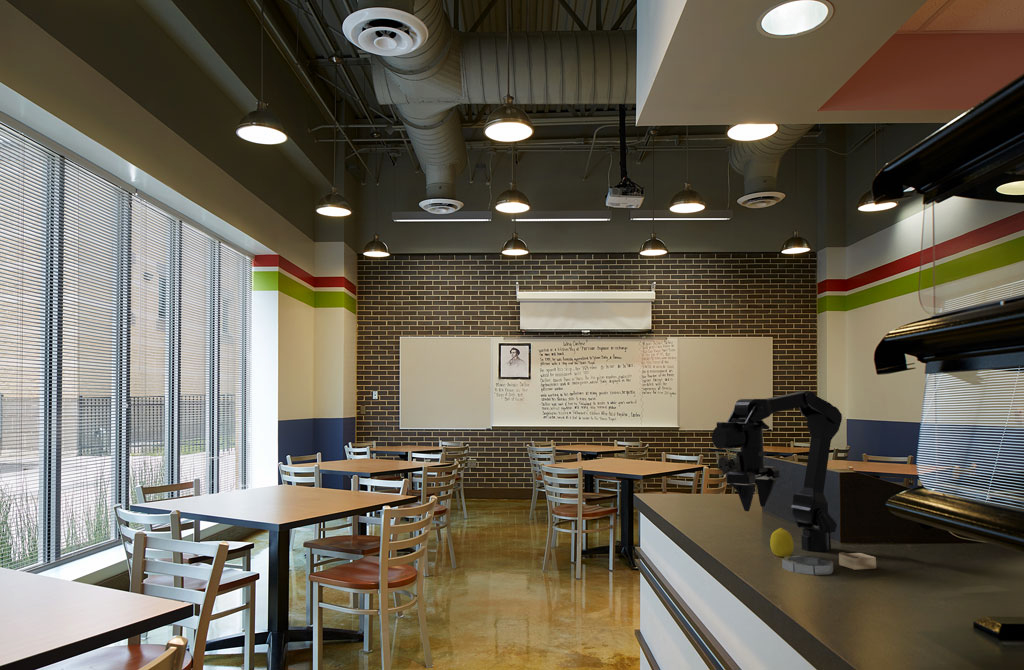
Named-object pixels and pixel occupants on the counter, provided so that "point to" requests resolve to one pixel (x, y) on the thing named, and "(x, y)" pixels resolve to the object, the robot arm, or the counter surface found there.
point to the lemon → (781, 543)
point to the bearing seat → (807, 565)
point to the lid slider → (857, 561)
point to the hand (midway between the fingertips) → (754, 508)
